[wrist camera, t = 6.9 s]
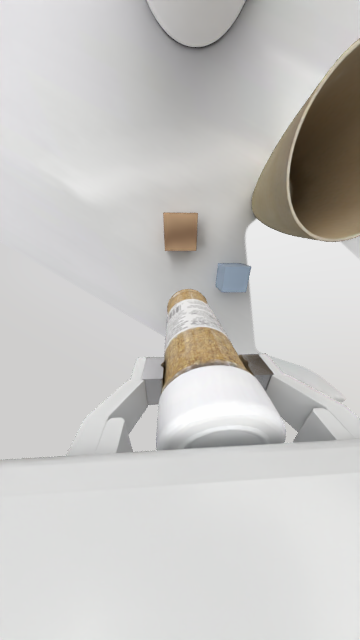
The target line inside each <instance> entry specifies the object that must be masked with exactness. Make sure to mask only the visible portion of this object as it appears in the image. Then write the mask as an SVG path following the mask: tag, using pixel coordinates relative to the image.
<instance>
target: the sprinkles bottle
mask: <svg viewBox="0 0 360 640" xmlns="http://www.w3.org/2000/svg"><path fill="white" fill-rule="evenodd" d="M167 311H168V316H167V324H166V337H165V351H164V352H165V353H164V358H165V373H164V386H163V388H162V394H161V396H160V399H159V404H158V405H159V406H158V418H157V437H156V448H157V451H159V450H176V449H193V448H210V447H227V446H244V445H261V444H278V443H284V442H285V437H286V429H285V425H284V422H283V420H282V418H281V416H280V415H279V413H278V411H277V410H276V408H275V406H274V405H273V403H272V401H271V400H270V398H269V397H268V395H267V393H266V392H265V390H264V389H263V387H262V385H261V384H260V382H259V381H258V380H257V379H256V378H255V377H254V376H253V375H252V374H251V373H250V372H249V371H247V370H246V368H245V366H244V364H243V363H242V361H241V360H240V358H239V356H238V354H237V353H236V351H235V349H234V348H233V346H232V343H231V341H230V339H229V338H228V336H227V334H226V333H225V331H224V329H223V328H222V326H221V324H220V323H219V321H218V320H217V318H216V316H215V315H214V313H213V311H212V310H211V308H210V307H209V306H208V304H207V301H206V299H205V297H204V296H203V295H202V294H201V293H200V292H198V291H196V290H193V289H185V290H181V291H178V292H177V293H175V294H174V295H173V296H172V298H171V299H170V300H169V303H168V306H167Z"/></svg>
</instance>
